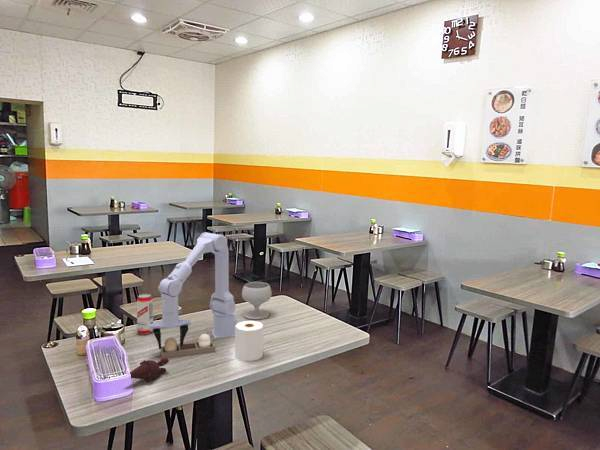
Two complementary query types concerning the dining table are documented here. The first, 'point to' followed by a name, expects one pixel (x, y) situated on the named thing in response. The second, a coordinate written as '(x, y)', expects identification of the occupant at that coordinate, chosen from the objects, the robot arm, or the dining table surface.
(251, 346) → the toilet paper
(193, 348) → the egg carton
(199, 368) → the dining table surface
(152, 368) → the brown plush toy
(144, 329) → the beer can
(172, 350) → the tan egg
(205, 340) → the cream egg
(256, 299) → the chalice
